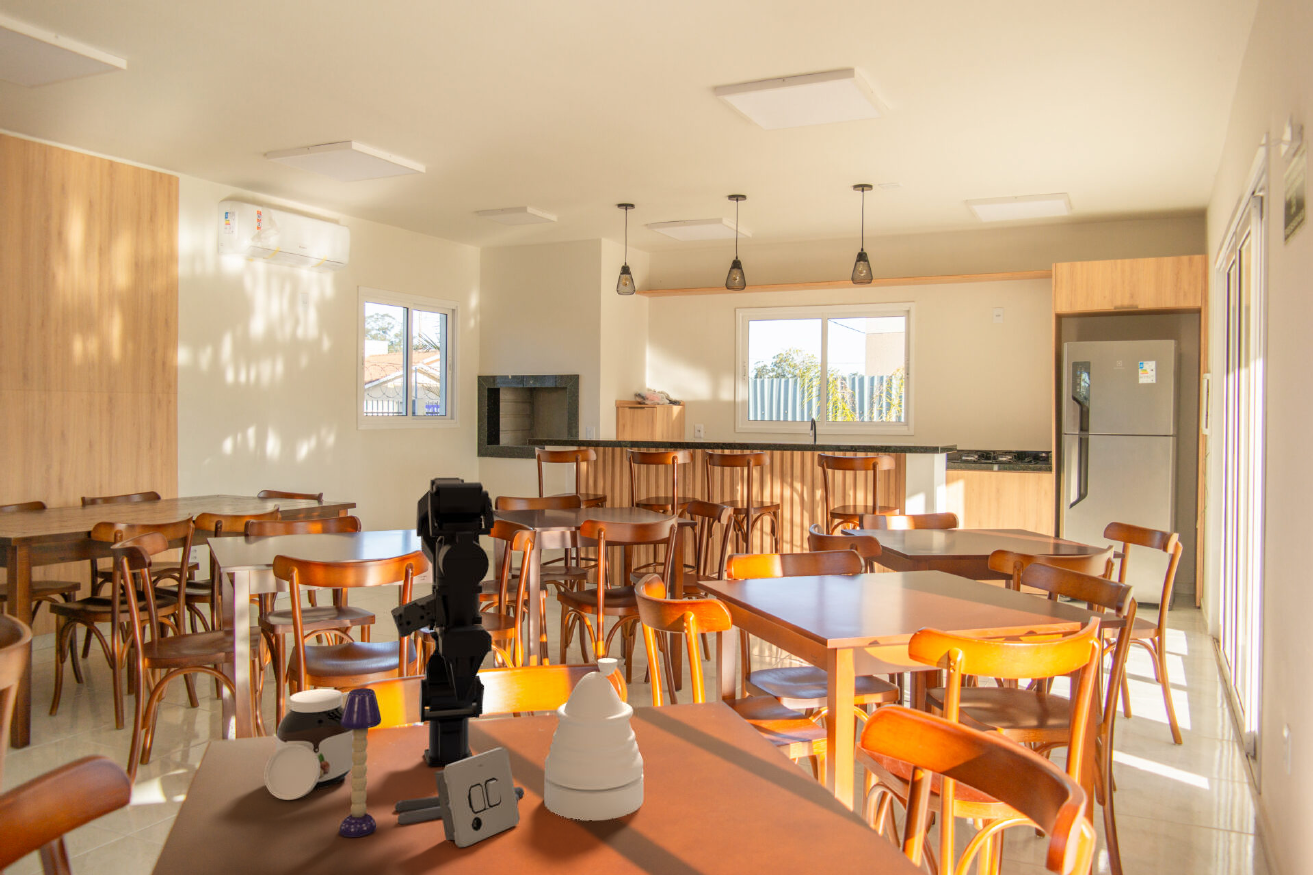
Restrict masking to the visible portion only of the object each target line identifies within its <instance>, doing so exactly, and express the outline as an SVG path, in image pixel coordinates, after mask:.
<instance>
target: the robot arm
mask: <svg viewBox="0 0 1313 875" xmlns="http://www.w3.org/2000/svg"><path fill="white" fill-rule="evenodd" d="M483 486H484V485H483V483H482V482H481V481H479V482H476V481H475V482H470V481H469V482H465V479H464V478H460V477H434V479H430V481H429V490H427V491H426V492H425V494H424V495H423V496H421V498H420V499H419V500H417V507H416V521H415V522H416V524H415V525H416V526H415V528H416V537H418V538H419V537H420V550H421V552H422V554H423V555H424V556H425V557H426V559H427V560H428V561H429V562H430V564H431V574H432V575H431V577H432V580H431V582H432V585H431V593H430V594H428V595H426V596H421V597H419V598H416V599H414V600H411V601H409V602H406V603H404V604H402V605H399V606H397V607H395V608H393V609H392V610H391V611H390V614H391V615H392V619H393V621H394V624H395V626H396V629H397V632H398V634H399V637H400V638H406V637H408V636H409V637H410V636H411V635H412V634H413V633H414V632H417V631H419V630H422V629H424V628H426V627H427V630H428V631H430V632H429V636H430V637H431V639H433V642H434V643H433V644H434V646H433V647H434V649H433V650H434V651H433V652H432V653H431V655H430V656H429V658H428V660H427V662H426V665H425V669H424V670H425V671H424V679H420V684H419V695H418V696H419V697H418V712H419V713H418V715H419V720H420V723H425V722H428V748H426V749H424V753H423V754H424V757H425V759H426V764H427V766H428V767H437V766H446V765H448V764H451V763H454V762H457V761H460V760H463V759H466V758H469V757H472V756H474V755H473V753H472V751H471V747H470V745H469V743H470V742H469V741H470V738H469V736H470V732H469V731H470V730H469V729H470V728H469V726H470V722H469V721H470V718H471V719H472V718H475V719H479V718H480V715H483V713H484V712H483V705H484V703H483V702H484V695H485V694H484V693H485V685H484V684H483V683H482V680H481V678H480V675H478V673H479V670H480V668H481V666H482V664H483V662H484V660H485V658H486V656H487V655H488V653H490V652H492V645H493V639H492V638H493V636H492V635H491V634H490V632H489V631H488V630H487V628H485V626H482V625H483V616H482V615H481V614H480V601H481V600H480V597H481V596H480V594H483V585H482V584H481V582H482V581H483V580H484V579H485V578H486V577H487V574H488V572H489V567H490V560H489V557H488V553H487V552H486V550H484V548H483V547H481V545H480V544H481V543H480V542H481V541H480V536H491V535H492V529H495V528H494V527H495V517H494V510H493V508H494V507H493V500H492V498H491V497H490V495H489V492H488V490H486V489H485V490H484V487H483Z"/></svg>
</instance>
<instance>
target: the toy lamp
mask: <svg viewBox="0 0 1313 875" xmlns="http://www.w3.org/2000/svg"><path fill="white" fill-rule="evenodd" d="M378 703H379V702H378V699H377V696H376V692H375V690H374V689H372V688H366V687H364V688H355V689H352V690H350V691H349V692H348V694H347V697H346V701H345V705H344V707H343V708H344V711H343V715H342V719H341V726H342V727H344V728H347V729H353V730H352V734H353V737H354V739H353V742H352V748H353V750H354V751H353V753H352V762H353V765H352V768H351V770H350V771H351V776H352V779H351V783H350V785H351V789H352V790H351V795H350V799H351V803H352V804H351V807H350V813H351V814H349V815H348V816H346V817H345V818H344V819H343V820H342V822H341V824H340V826H339V835H341V836H343V837H348V838H359V837H364V836H368V835H370V834H372V833H374V832H375V831H376V830H377V823H376V820H375V818H374V817H373V816H372V815H371V814H369V813H366V811H367V804H366V800H367V798H368V797H367V790H366V787H367V784H368V778H367V776H366V775H367V772H368V765H367V760H368V751H367V748H368V744H369V742H368V738H367V736H368V734H369V729H372V728H375V727H377V726H379V725H380V724H381V722H382V716H381V711H380V707H379V704H378Z"/></svg>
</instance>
